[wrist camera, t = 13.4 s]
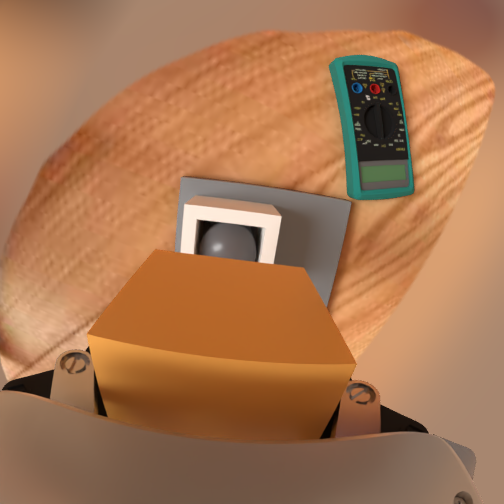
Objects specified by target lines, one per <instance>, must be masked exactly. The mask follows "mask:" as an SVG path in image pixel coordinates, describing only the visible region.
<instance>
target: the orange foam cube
mask: <svg viewBox="0 0 504 504" xmlns="http://www.w3.org/2000/svg"><path fill="white" fill-rule="evenodd" d="M87 338H88V343H89V348H90V353H91V357H92V362H93V366H94V370H95V374H96V378H97V382H98V386H99V389H100V393H101V396H102V400H103V403H104V406H105V409H106V413H107V416H108V418H112V419H115V420H119V421H123V422H127V423H131V424H136V425H140V426H145V427H150V428H155V429H160V430H165V431H171V432H177V433H184V434H191V435H198V436H207V437H217V438H228V439H244V440H313V439H320V437H321V435H322V433H323V431H324V430H325V428H326V426H327V424H328V422H329V421H330V419H331V417H332V415H333V413H334V411H335V409H336V407H337V405H338V403H339V401H340V399H341V397H342V395H343V393H344V391H345V389H346V387H347V385H348V383H349V381H350V378H351V376H352V374H353V372H354V369H355V367H356V365H357V364H356V362H355V360H354V358H353V356H352V354H351V352H350V350H349V348H348V346H347V345H346V343H345V341H344V339H343V337H342V335H341V333H340V331H339V330H338V328H337V326H336V324H335V322H334V320H333V319H332V317H331V315H330V313H329V311H328V310H327V308H326V306H325V304H324V302H323V301H322V299H321V297H320V295H319V293H318V292H317V290H316V288H315V286H314V284H313V283H312V281H311V279H310V277H309V276H308V274H307V272H306V270H305V269H304V268H302V267H294V266H285V265H277V264H269V263H260V262H252V261H244V260H236V259H228V258H220V257H212V256H204V255H196V254H188V253H180V252H172V251H165V250H157V249H155V250H154V251H153V253H152V254H151V255H150V256H149V257H148V258H147V260H146V261H145V262H144V263H143V264H142V265H141V267H140V268H139V269H138V270H137V271H136V272H135V274H134V275H133V276H132V277H131V278H130V280H129V281H128V282H127V283H126V284H125V286H124V287H123V288H122V289H121V291H120V292H119V293H118V294H117V295H116V297H115V298H114V299H113V300H112V302H111V303H110V304H109V306H108V307H107V308H106V309H105V311H104V312H103V313H102V314H101V316H100V317H99V318H98V320H97V321H96V322H95V324H94V325H93V326H92V328H91V329H90V330H89V332H88V333H87Z"/></svg>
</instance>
